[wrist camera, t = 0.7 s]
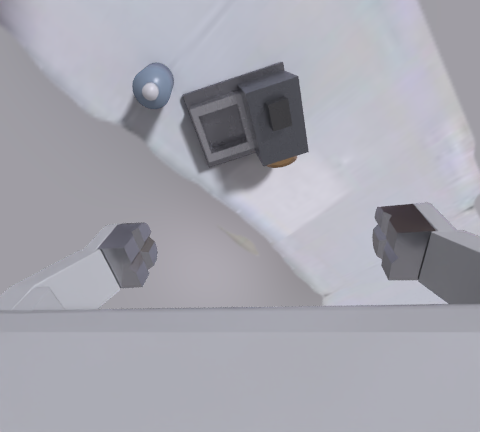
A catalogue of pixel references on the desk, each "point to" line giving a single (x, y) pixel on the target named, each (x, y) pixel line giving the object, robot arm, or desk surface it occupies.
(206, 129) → the gray recessed holder
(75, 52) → the desk surface
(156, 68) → the bottle
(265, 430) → the robot arm
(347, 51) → the desk surface
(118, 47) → the desk surface
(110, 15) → the desk surface
